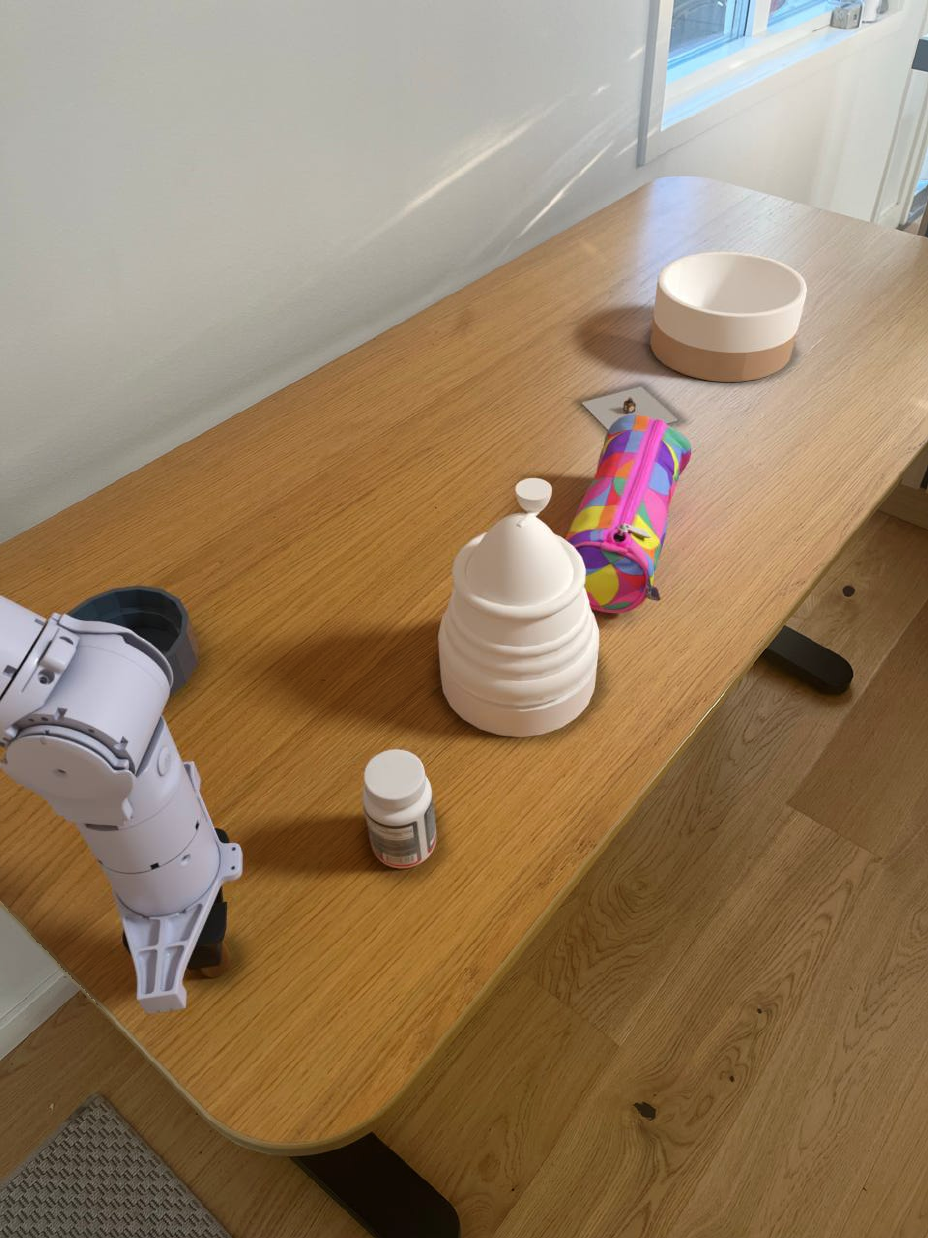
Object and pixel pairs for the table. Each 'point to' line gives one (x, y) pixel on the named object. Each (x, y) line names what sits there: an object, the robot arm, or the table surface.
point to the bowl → (726, 315)
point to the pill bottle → (399, 809)
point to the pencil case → (628, 512)
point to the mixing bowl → (148, 623)
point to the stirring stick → (220, 969)
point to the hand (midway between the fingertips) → (205, 943)
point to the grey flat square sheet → (627, 407)
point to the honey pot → (519, 626)
